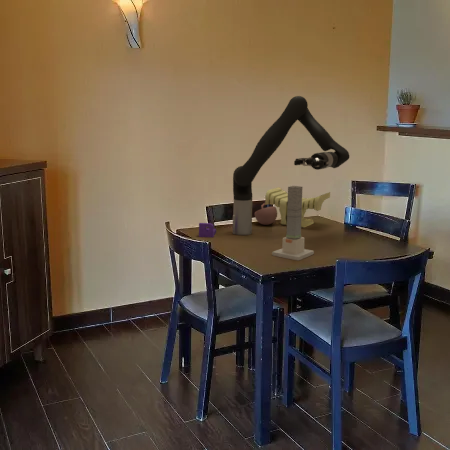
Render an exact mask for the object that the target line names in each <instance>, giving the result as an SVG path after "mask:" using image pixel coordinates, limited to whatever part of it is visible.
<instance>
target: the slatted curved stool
mask: <svg viewBox="0 0 450 450" xmlns="http://www.w3.org/2000/svg"><path fill="white" fill-rule="evenodd" d="M264 198H265V199H264V200H265V202H264V203H265V205H264V206H266V205H271V206H273V205H274V207H276V208H279V209H278V210H279V213H280V225H283V226H287V205H288V191H286V190H283V189H282V187H274V188H270V189H268V190H267V191H266V193H265V197H264ZM330 198H331V192H330V191H329V192H327V193H324V194H322V195H321V194H320V195H319V196H316V197H308V198H307V197H302V216H301V228H306V227H309V226H311V225H313V224H314V223H315V222H314V220H313V219H309V218H305V217H304V216H305V213H306V212H307V210H315V211H316V212H318V211H321V210H322V206H323V203H324V202H325V201H326V200H327V199H330Z"/></svg>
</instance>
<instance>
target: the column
mask: <svg viewBox="0 0 450 450" xmlns="http://www.w3.org/2000/svg"><path fill="white" fill-rule="evenodd" d="M287 193H288V205H287V225H286V235H285V237H287V238H290V239H298V238H301V237H302V227H301V216H302V198H303V186H300V185H290V186H288V187H287Z"/></svg>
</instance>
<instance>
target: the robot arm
mask: <svg viewBox="0 0 450 450" xmlns="http://www.w3.org/2000/svg"><path fill="white" fill-rule="evenodd" d="M308 105H309V103H308V101H307V99H306V98H305V97H304V96H300V95H296V96H294V97H292V98H291V99H290V100H288V104H287V105H286V107H285V109H284V110H283V111H282V113H281V114H280V116H279V117H278V118H277V119H276V120H275V121H274V122H273V123H272V124H271V125H270V127H268V129H267V130H266V131H265V132H264V134H263V135H262V136H261V137H260V139H259V140H258V141H257V144H256V146H255V148H254V149H253V152H252V153H251V155H250V157H249V158H248V159H247V161H246V162H245V163H244V164H243V165H241V166H238V167H236V168H235V169H234V170H233V176H232V192H233V193H232V194H233V213H232V214H233V215H232V234H233V235H237V236H248V235H251V234H252V232H253V189H252V187H253V186H252V184H253V183H252V182H253V181H254V180H255V178H256V177H257V174H258V173H259V172H260V170H261V169H262V167H263V166H264V165H265V163H267V161H268V160H269V159H270V158H271V157H272V155H274V153H276V151H277V149H278V148H279V147H280V146H281V144H282V143H283V141H284V140H285V138H286V137H287V135H288V132H289V131H290V130H291V128H292V127H293V126H294V125H295V123H296V122H297V121H298V122H300V124H301V125H302V126H304V128H305V129H306V131H308V133H309V135H311V137H312V138H313V140H314V141H315V143H316V144H317V145H318V146H319V147H320V149H321V150H322V151H321V152H316V153H313V154H312V155H311V157H299V158H295V160H294V163H293V165H294V166H304V167H311V168H312V169H313V170H315V171H316V170H323V169H327V168H333V169H337V168H339V167H340V166H342V165H343V164H344V163H346V162H347V161H348V160H349V159H350V153H349V151H348V150H347V149H346V148H345V147H344V146H342V145H341V144H340V143H338V142H337V141H335V139H334V138H333V136H331V135H330V133H329V132H328V131H327V129H325V127H323V126H322V124H320V123H319V121H317V120H316V119H315V117H314V116H313V115H312V113H311V112H310V110H309V107H308ZM330 150H333V151H330ZM327 151H328V152H327Z"/></svg>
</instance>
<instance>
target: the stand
mask: <svg viewBox="0 0 450 450" xmlns="http://www.w3.org/2000/svg"><path fill="white" fill-rule="evenodd" d="M281 245H282V248H280V249H276V250H274V251H272V252H271V254H272V255H271V256H274V257H277V258H279V257H280V258H284V259H289V260H293V261H297V262H298V261H301V260H304V259H306V258H308V257H310V256H313V255H314V253H315V250H311V249H306V248H305V237H303V236H301V238H298V239H290V238H287V237H286V236H285V237H282V244H281Z"/></svg>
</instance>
